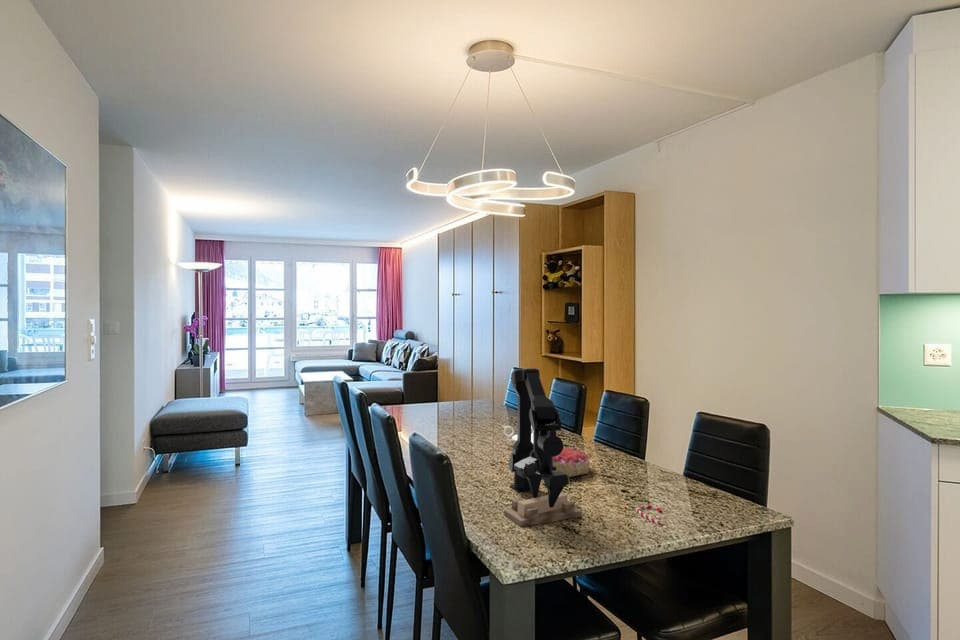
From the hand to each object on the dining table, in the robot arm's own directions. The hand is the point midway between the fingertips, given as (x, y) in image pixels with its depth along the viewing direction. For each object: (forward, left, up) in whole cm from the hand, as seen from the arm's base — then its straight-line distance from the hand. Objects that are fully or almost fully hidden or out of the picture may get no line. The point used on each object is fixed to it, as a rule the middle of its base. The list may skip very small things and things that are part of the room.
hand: (542, 502), depth 166 cm
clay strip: (0, 0, -2) cm, 2 cm away
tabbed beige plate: (0, 0, -4) cm, 4 cm away
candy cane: (+13, +29, -4) cm, 32 cm away
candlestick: (-80, +41, -4) cm, 90 cm away
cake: (-41, +29, -4) cm, 50 cm away
